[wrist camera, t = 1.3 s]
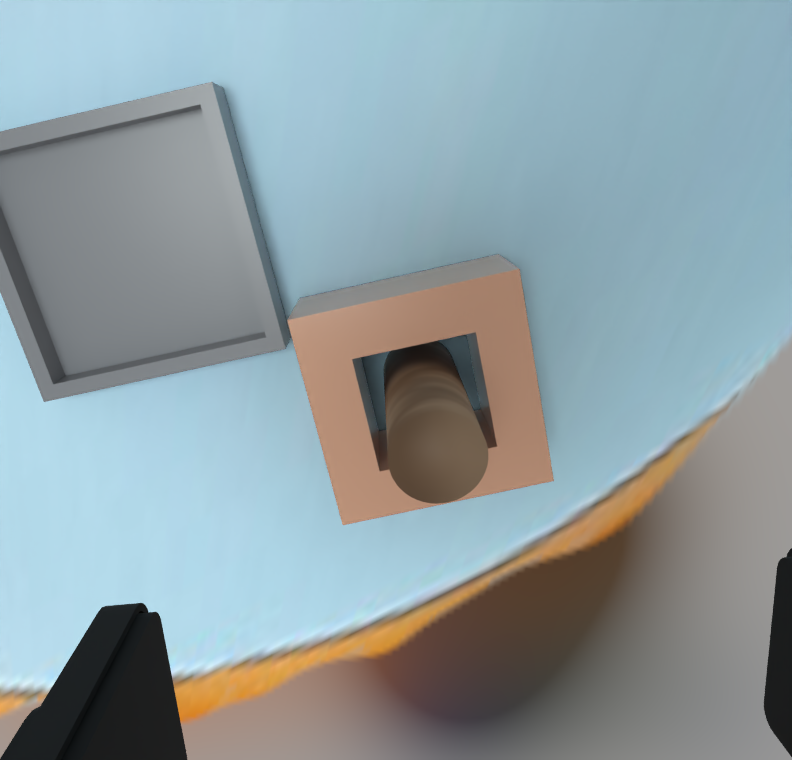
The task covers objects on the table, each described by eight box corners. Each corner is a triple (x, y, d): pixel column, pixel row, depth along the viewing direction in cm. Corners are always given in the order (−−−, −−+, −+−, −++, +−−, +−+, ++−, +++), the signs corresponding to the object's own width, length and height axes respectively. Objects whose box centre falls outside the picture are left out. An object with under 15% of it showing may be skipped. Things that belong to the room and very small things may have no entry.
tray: (223, 87, 34) (211, 82, 32) (291, 337, 38) (285, 348, 35) (-28, 146, 34) (-58, 145, 32) (64, 386, 38) (43, 401, 36)
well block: (498, 253, 37) (519, 268, 32) (530, 439, 40) (553, 480, 35) (299, 298, 37) (287, 320, 32) (346, 478, 41) (342, 525, 35)
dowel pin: (447, 330, 38) (478, 401, 27) (460, 396, 39) (496, 492, 28) (376, 345, 38) (378, 422, 27) (392, 411, 39) (399, 512, 28)
